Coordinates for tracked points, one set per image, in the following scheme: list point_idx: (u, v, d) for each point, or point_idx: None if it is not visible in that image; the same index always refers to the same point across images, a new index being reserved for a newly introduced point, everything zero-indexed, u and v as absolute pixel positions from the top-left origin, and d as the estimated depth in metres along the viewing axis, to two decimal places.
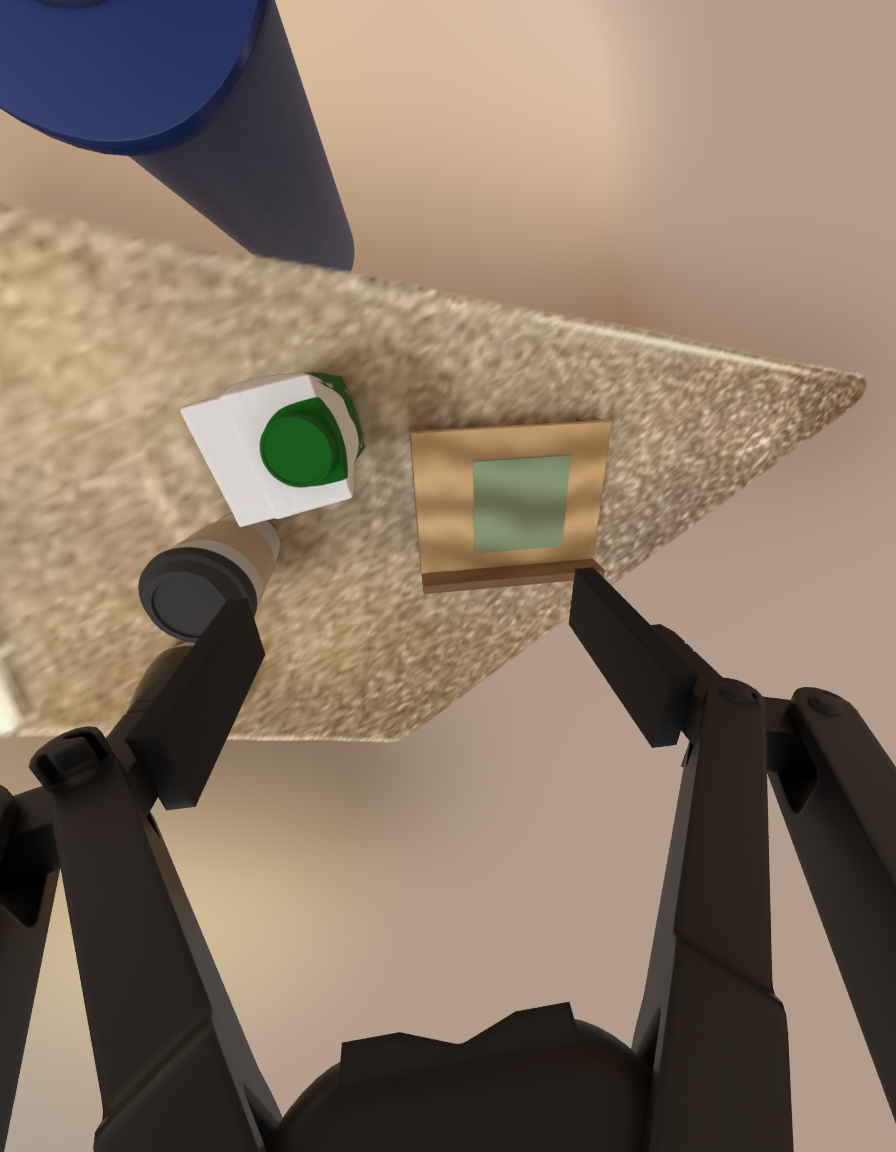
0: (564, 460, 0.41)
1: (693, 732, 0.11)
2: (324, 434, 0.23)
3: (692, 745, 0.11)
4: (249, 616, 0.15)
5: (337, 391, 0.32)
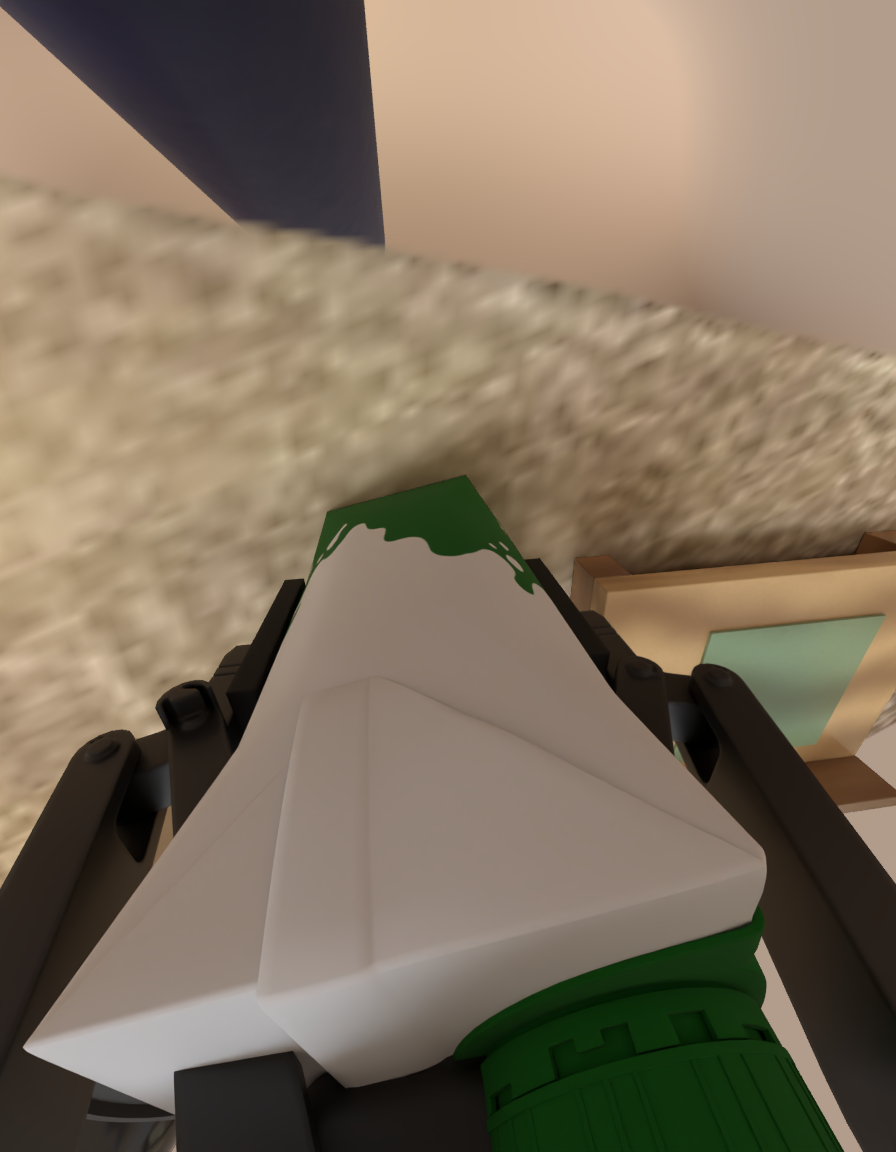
0: (872, 623, 0.22)
1: None
2: None
3: None
4: None
5: (527, 570, 0.13)
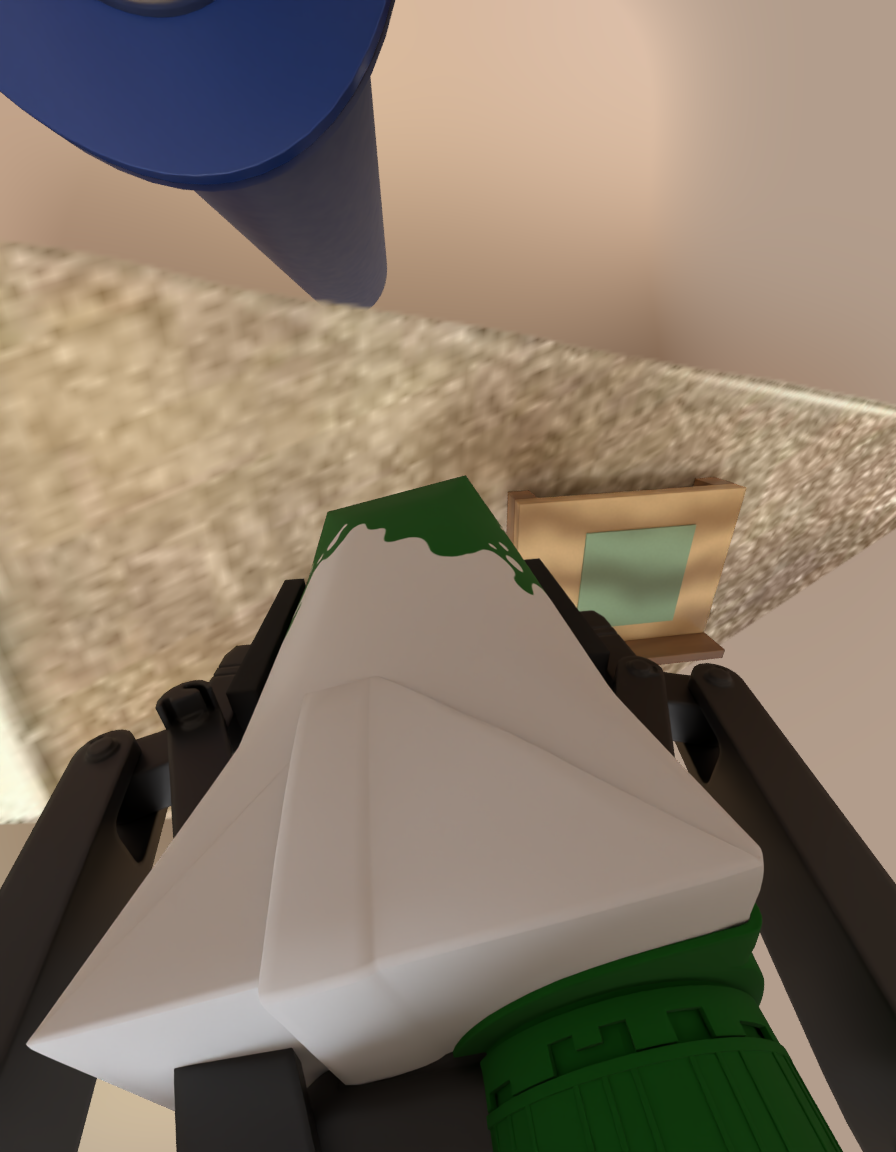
0: (688, 530, 0.36)
1: None
2: None
3: None
4: None
5: (527, 571, 0.13)
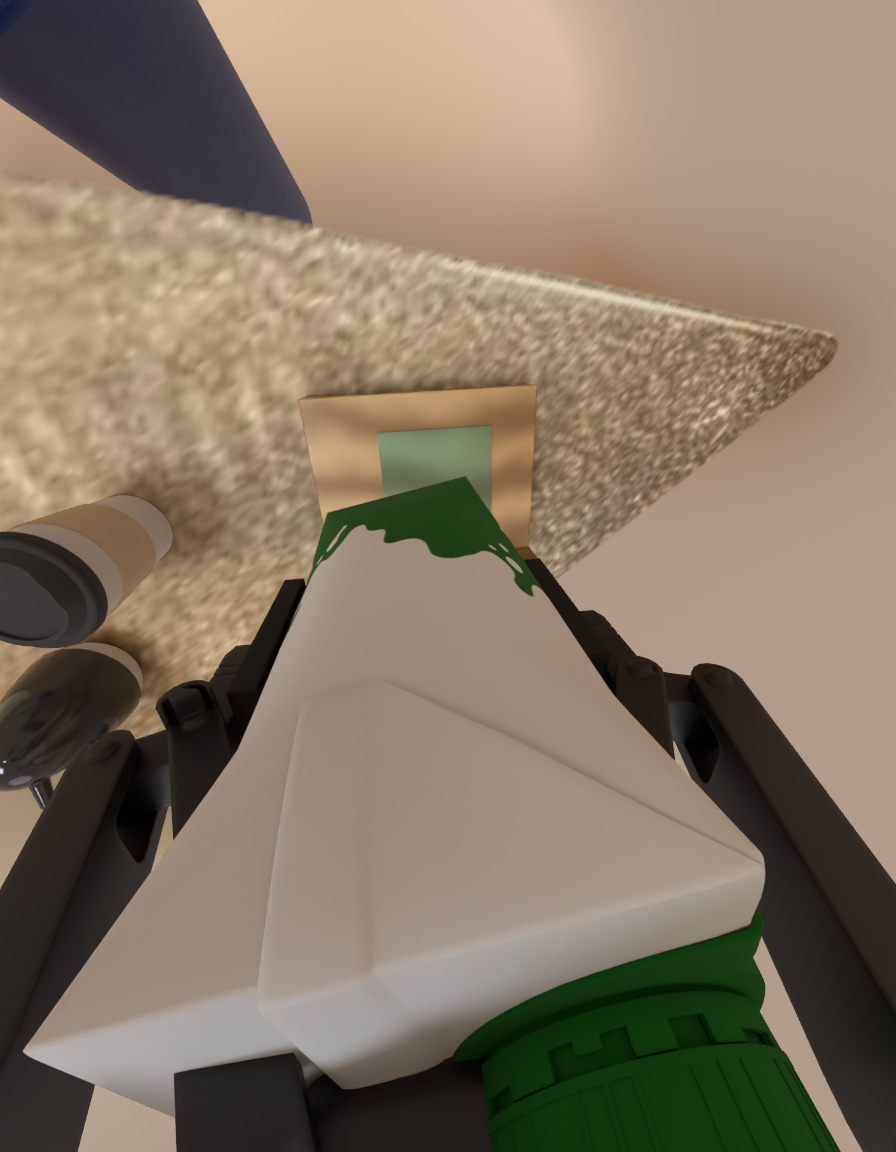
0: (484, 431, 0.35)
1: None
2: None
3: None
4: None
5: (527, 572, 0.13)
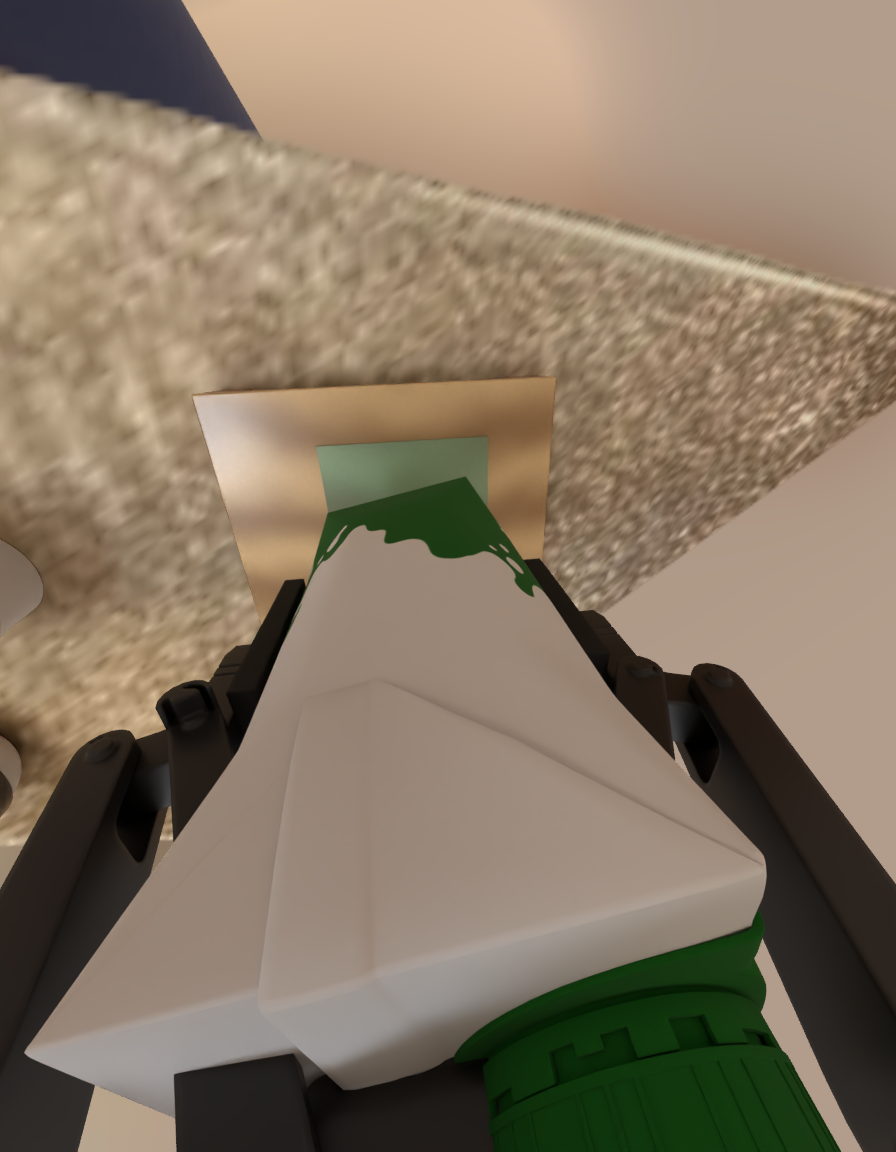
0: (477, 445, 0.24)
1: None
2: None
3: None
4: None
5: (528, 572, 0.13)
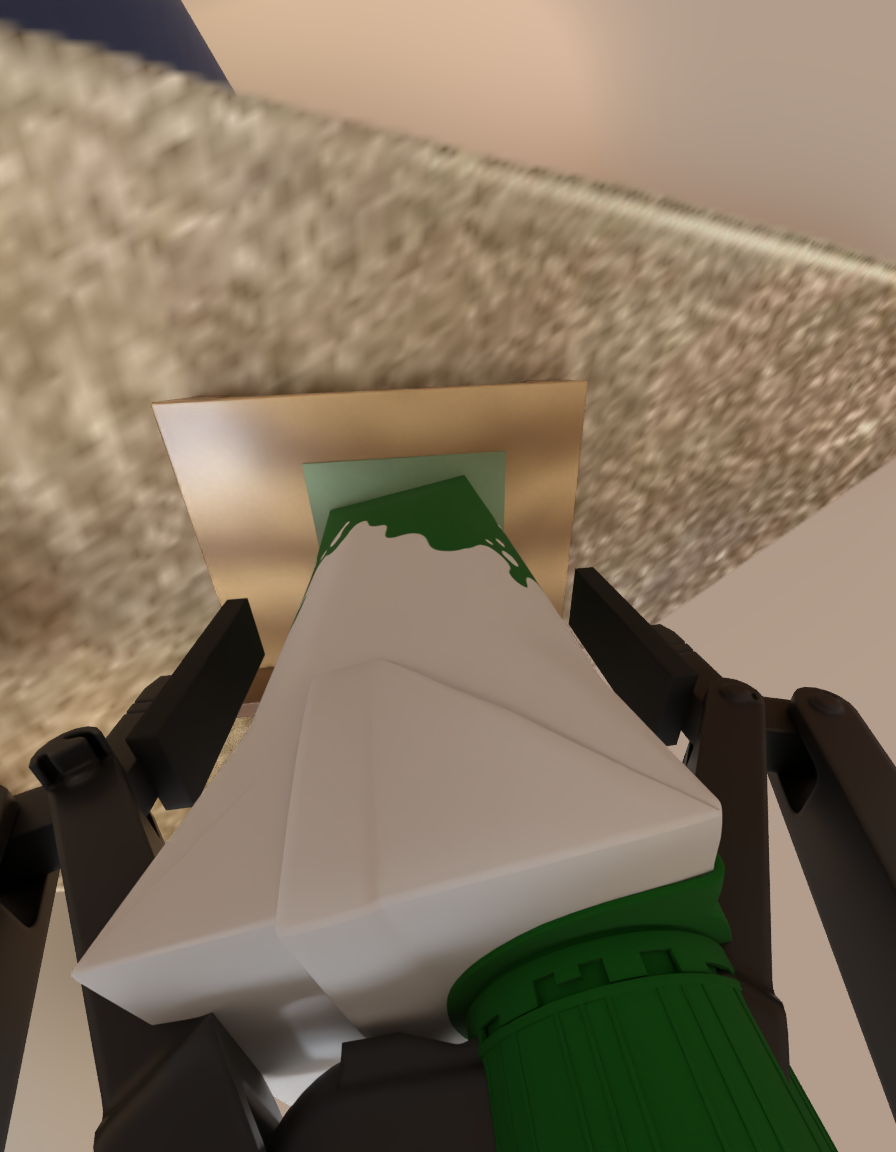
0: (493, 461, 0.20)
1: (693, 732, 0.11)
2: None
3: (692, 745, 0.11)
4: (249, 616, 0.15)
5: (523, 566, 0.13)
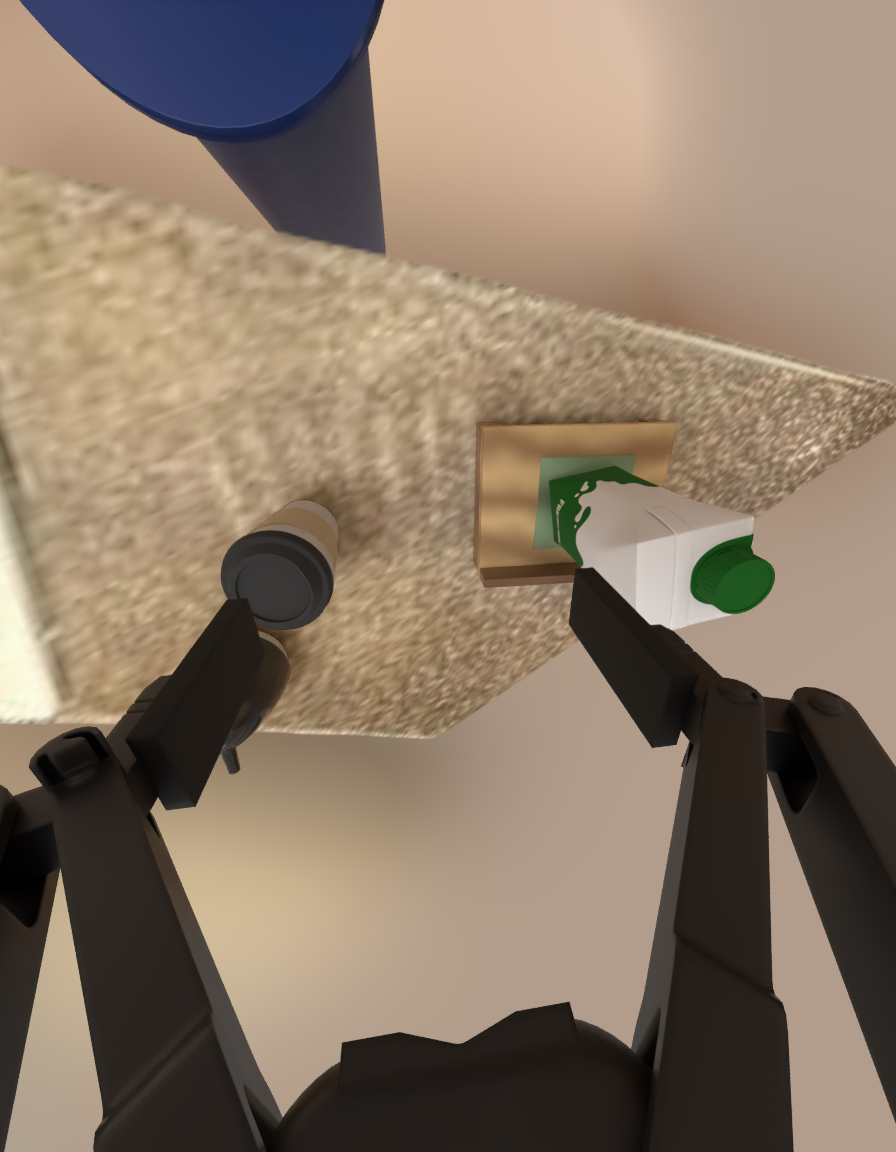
0: (629, 459, 0.42)
1: (693, 732, 0.11)
2: (774, 572, 0.25)
3: (692, 745, 0.11)
4: (250, 616, 0.15)
5: None
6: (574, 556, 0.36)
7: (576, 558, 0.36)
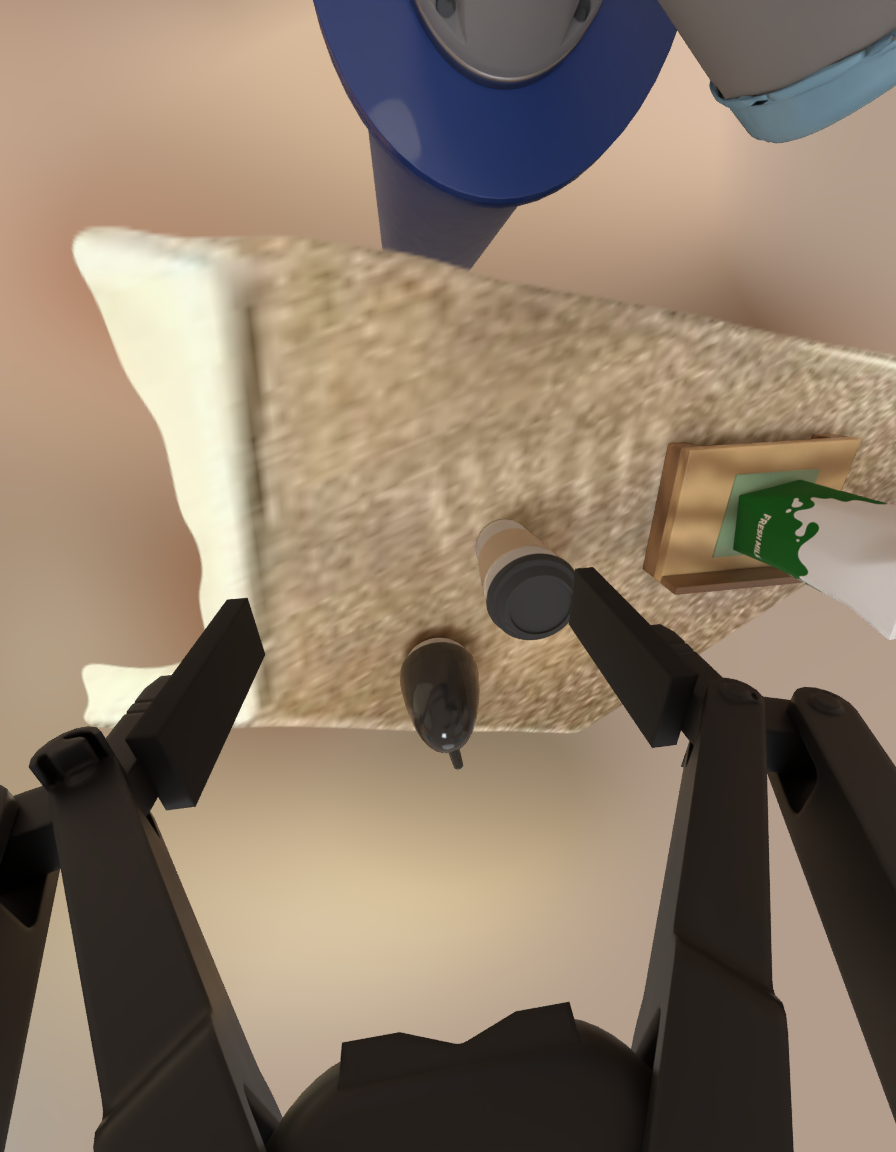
0: (813, 473, 0.45)
1: (693, 732, 0.11)
2: None
3: (692, 745, 0.11)
4: (249, 616, 0.15)
5: None
6: (789, 566, 0.40)
7: (793, 568, 0.40)
